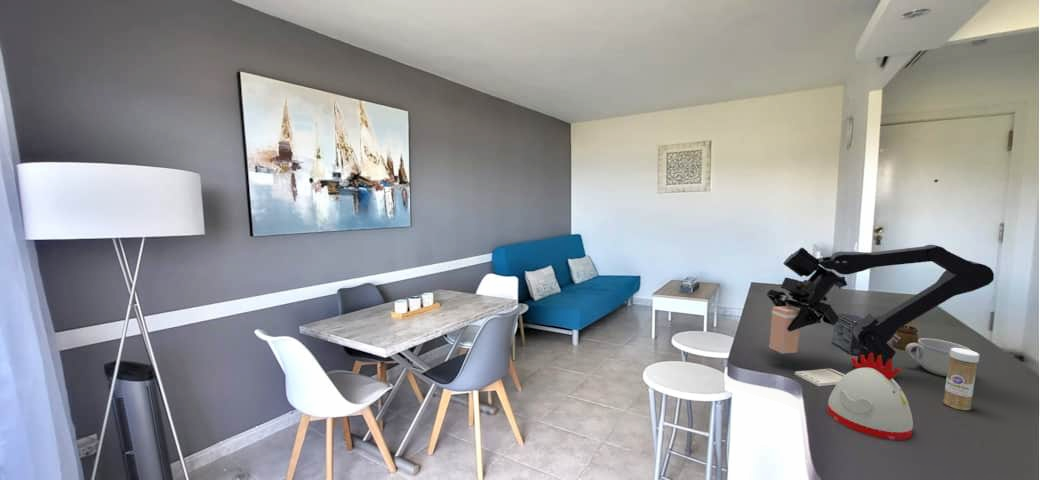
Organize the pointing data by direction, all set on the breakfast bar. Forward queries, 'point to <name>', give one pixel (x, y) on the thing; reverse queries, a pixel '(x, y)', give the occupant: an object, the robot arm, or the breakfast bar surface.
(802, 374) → the ticket strip
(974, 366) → the sprinkles bottle
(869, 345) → the robot arm
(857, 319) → the small box
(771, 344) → the carton
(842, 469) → the breakfast bar surface
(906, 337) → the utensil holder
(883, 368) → the kitchen timer
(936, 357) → the teacup
